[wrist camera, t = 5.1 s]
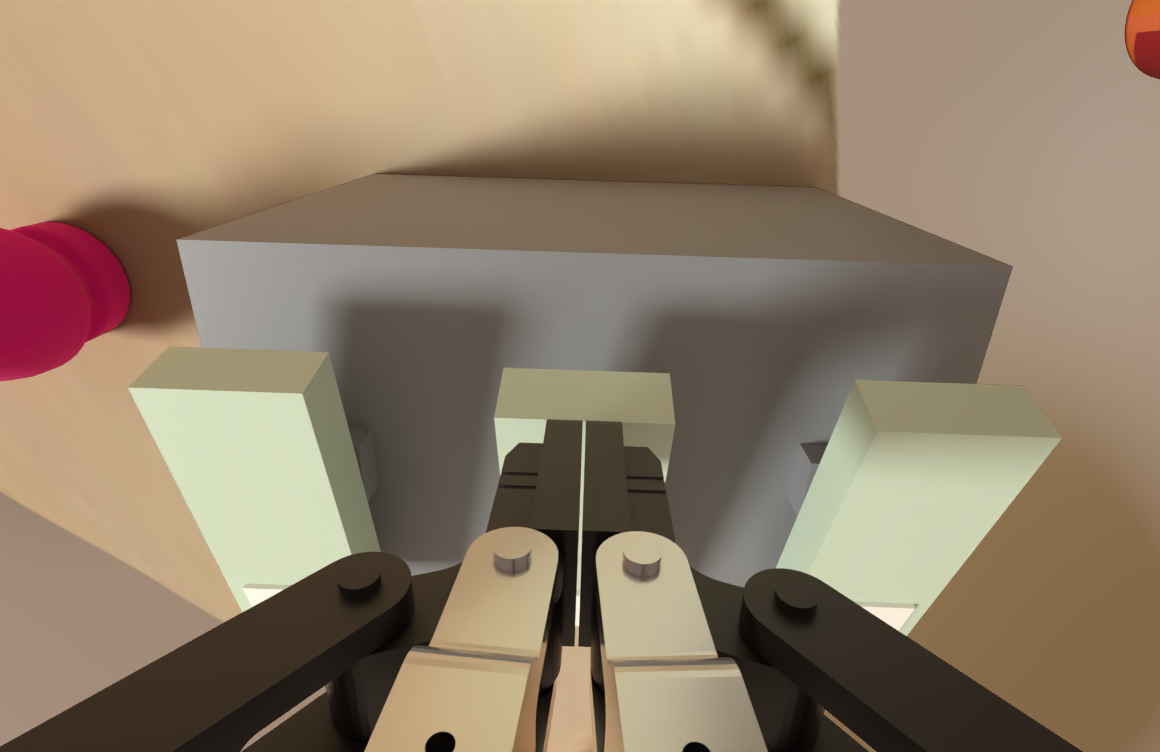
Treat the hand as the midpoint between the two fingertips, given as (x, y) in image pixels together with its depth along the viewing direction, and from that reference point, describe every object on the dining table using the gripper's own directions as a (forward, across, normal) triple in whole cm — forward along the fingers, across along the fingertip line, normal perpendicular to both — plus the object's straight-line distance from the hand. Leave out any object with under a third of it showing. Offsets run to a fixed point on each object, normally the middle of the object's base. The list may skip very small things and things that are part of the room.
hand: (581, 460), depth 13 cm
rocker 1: (+3, +8, +4) cm, 9 cm away
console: (+22, 0, +3) cm, 22 cm away
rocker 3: (+3, -8, +4) cm, 9 cm away
